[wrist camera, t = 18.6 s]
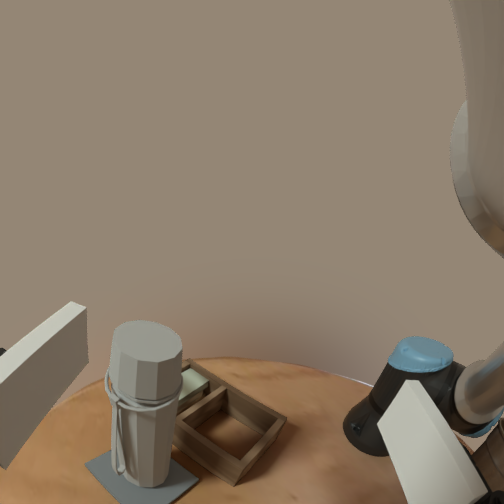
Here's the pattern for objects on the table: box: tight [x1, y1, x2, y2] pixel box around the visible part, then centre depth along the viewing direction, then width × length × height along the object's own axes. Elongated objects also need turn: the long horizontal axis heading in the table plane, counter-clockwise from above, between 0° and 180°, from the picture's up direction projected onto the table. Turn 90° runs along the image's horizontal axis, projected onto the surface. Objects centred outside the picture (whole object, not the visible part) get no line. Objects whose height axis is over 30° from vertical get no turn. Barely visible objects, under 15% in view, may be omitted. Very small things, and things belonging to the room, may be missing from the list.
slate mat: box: [85, 450, 199, 504], centre depth 29 cm, size 12×12×1 cm
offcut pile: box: [176, 368, 209, 416], centre depth 46 cm, size 10×5×5 cm, turn 149°
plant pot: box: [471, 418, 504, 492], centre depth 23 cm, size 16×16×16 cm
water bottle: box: [105, 320, 183, 488], centre depth 26 cm, size 9×8×25 cm
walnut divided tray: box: [172, 358, 287, 487], centre depth 42 cm, size 14×22×6 cm, turn 59°
